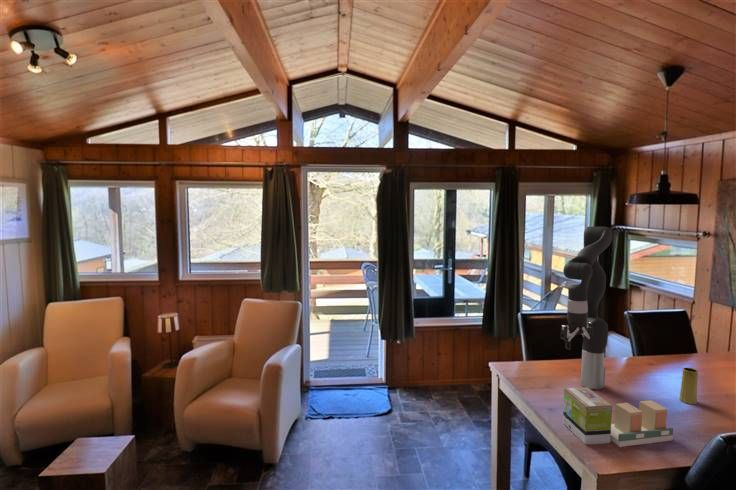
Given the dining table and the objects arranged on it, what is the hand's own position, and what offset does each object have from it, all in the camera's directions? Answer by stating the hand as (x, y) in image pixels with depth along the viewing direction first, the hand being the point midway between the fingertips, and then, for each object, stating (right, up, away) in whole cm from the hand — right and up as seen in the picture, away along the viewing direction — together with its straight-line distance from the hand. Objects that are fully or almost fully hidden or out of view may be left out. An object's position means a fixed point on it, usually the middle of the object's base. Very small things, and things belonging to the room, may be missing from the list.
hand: (576, 348), depth 175 cm
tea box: (-6, -28, -18) cm, 34 cm away
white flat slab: (+11, -27, -20) cm, 36 cm away
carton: (+8, -26, -21) cm, 34 cm away
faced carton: (+19, -25, -19) cm, 37 cm away
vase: (+52, -25, +7) cm, 58 cm away
